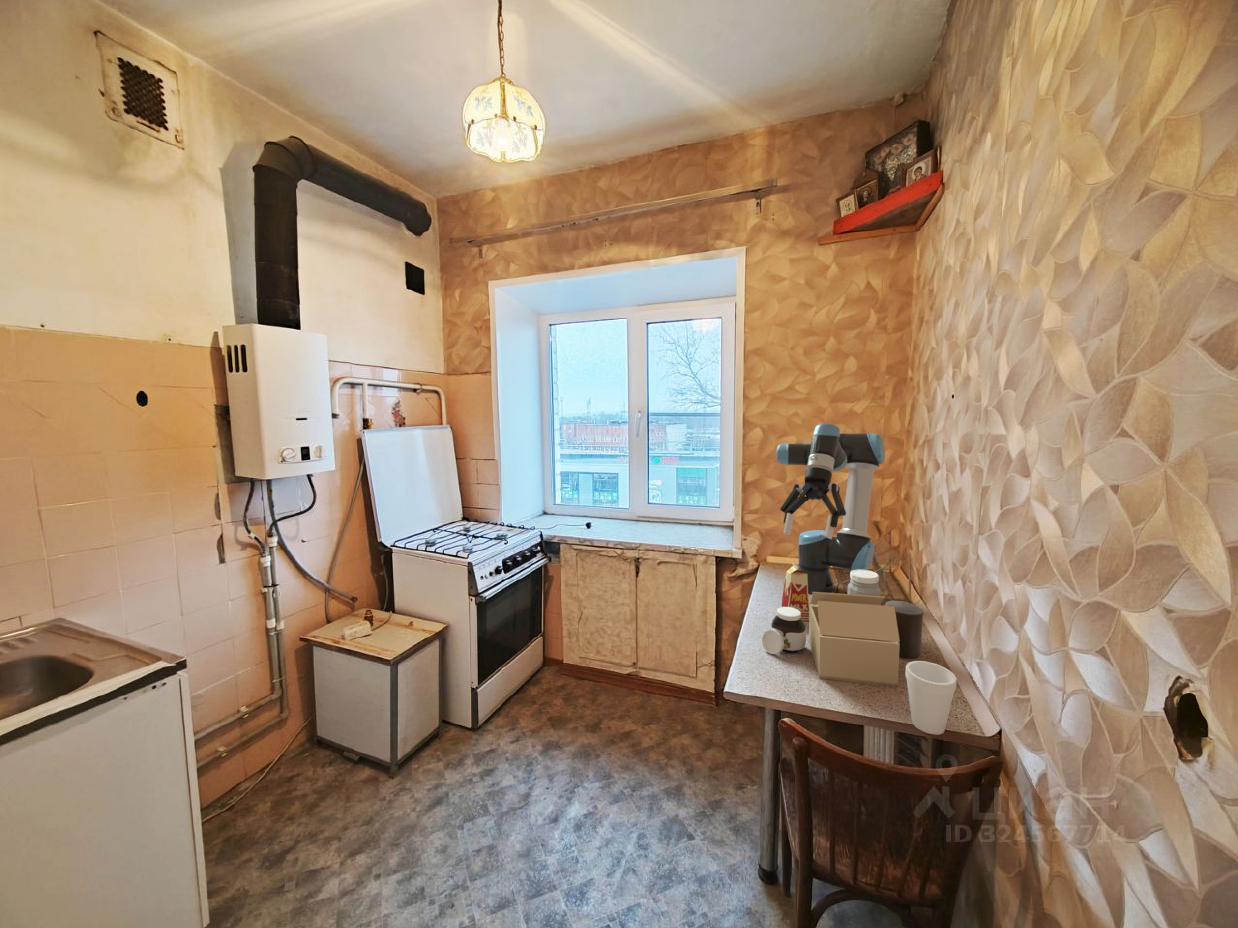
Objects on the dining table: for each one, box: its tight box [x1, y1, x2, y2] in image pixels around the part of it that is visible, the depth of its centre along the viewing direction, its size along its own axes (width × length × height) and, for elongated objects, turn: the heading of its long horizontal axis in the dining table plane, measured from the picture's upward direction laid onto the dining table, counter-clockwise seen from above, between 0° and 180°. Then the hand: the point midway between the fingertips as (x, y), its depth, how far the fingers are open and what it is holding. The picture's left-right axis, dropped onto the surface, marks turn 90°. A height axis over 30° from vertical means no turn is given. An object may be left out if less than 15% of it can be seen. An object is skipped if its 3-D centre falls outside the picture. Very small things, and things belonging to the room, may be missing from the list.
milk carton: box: [780, 562, 810, 626], centre depth 156 cm, size 9×9×20 cm
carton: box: [808, 604, 900, 688], centre depth 129 cm, size 20×19×12 cm
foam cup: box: [904, 660, 958, 735], centre depth 103 cm, size 10×9×13 cm
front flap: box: [817, 601, 900, 642], centre depth 120 cm, size 9×19×1 cm
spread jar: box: [761, 606, 807, 655], centre depth 137 cm, size 12×11×12 cm
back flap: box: [809, 592, 885, 606], centre depth 134 cm, size 9×19×1 cm
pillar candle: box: [884, 600, 924, 660], centre depth 134 cm, size 10×10×15 cm
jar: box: [846, 569, 882, 596], centre depth 150 cm, size 10×10×18 cm
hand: (806, 535), depth 134 cm, fingers open, 13 cm apart
